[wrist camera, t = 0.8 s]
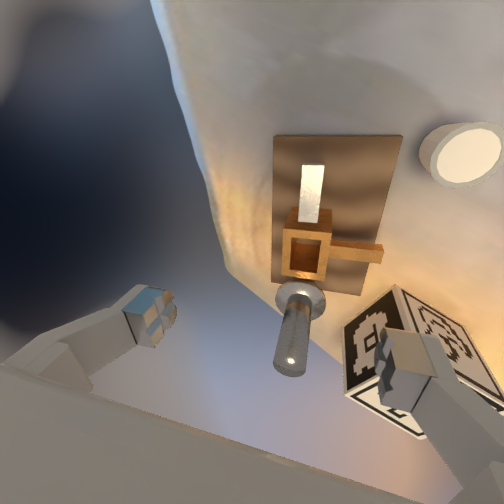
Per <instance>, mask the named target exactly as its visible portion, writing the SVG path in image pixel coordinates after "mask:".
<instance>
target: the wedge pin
mask: <svg viewBox="0 0 504 504" xmlns="http://www.w3.org/2000/svg"><path fill="white" fill-rule="evenodd" d="M324 166H325V163H303V165H302V177H301V190H300V203H299V216H298V222H310V223H317V221H318V213H319V205H320V198H321V191H322V183H323V174H324Z"/></svg>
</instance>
